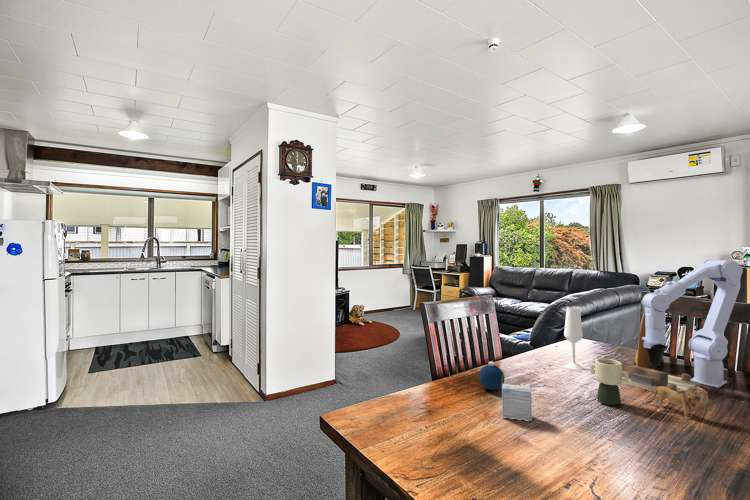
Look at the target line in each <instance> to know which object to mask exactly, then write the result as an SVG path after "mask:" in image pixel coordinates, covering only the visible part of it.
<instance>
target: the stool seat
mask: <svg viewBox="0 0 750 500" xmlns="http://www.w3.org/2000/svg"><path fill="white" fill-rule="evenodd" d="M628 364H631V365H636V362H635V361H632V360H630V361H628ZM691 376H692V375H690V374H688V373H681V377H679V376H675V375H670V374H668V384H667V386H665V387H667V388H669V389H671V390H673V391H676V392H681V391H682V390H688V389H692V388H695V387H699V388H700V383H699V382H696V381H692V380H691V379H692V377H691ZM622 378H624V379H625V376H622ZM621 384H625V385H628V386H632V387H636V388H640V389H643V390H647V391H651V392H654V393H655V390H656V389H657V388H658V387H660V386H659V385H656V384H653V378H652V377H648V376H644V375H640V374H636V373H632V374H631V378H629V377H628V382H623V381H622V382H621ZM657 394H658V392H657Z"/></svg>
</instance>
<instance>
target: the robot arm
mask: <svg viewBox="0 0 750 500" xmlns="http://www.w3.org/2000/svg"><path fill="white" fill-rule="evenodd" d="M743 272H744V269H743V268H742V267H741V265H740V264H739V262H737V261H736V260H732V259H729V260H728V259H727V260H725V259H711V258H710V259H708V258H707V259H705V260H704V261H703V262H699V263H698V265H697V267H695V268H694V269H693V270H691V271H690V272H689V273H687V274H686V275H684V276H683V277H681V279H679V280H678V281H675V280H672V281H666V282H665V284H664V285H662V286H661V287H659V288H658V289H655V290H653V291H654V292H653V293H652V292H651V293H650V292H649V293H646V294H645V295H644V296H643V297H642V299H641V301H640V303H641V305H642V306H643V308H644V311H645V326H646V337H642V340H645V342H644V348H645V349H646V350H647V352H648V354H649V357H650V361H651V364H652V365H655V366H656V367H659V366H660V365H661V363H662V359H663V356H664V353H665V351H666V350H667V349H668V346H667V345H666V344H667V342H668V339H667V338H668V337H667V336H666V310H668V309H669V307H670V305H671V304H672V302H675V301H676V300H678V299H679V298H680V297H682V296H684V295H685V294H686V289H689V288H691V287H693V286H694V285H696V284H698V283H699V282H701V281H703V280H705V279H709V280H710V281H711V282H712V283H714V285H715V286H716V287H717V289H716V292H715V295H714V297H713V300H712V303H711V304H710V308H709V311H708V313H707V316H706V319H705V321H704V324H703V326H702V327H703V328H700V329H699V330H696V331H695V333H694V335H693V336H692V337H691V338H690V339H689V340H688V348H689V350H690V351H691V352H692V355H693V375H694V376H693V377H691V380H692V381H696V382H699V385H700V384H701V385H705V386H708V387H713V388H717V389H719V388H721V387H722V386H723V385H725V384H727V383H728V381H727V380H724V363H723V360H724V359H725V357H726V356H727V355H728V344H729V341H728V339H727V338H726V336H725V335H724V334H725V330H726V327H727V325H728V322H729V320H730V317H731V314H732V311H733V308H734V306H735V303H736V301H737V298H738V295H739V292H740V289H741V277H742V274H743Z"/></svg>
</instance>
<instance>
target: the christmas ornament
mask: <svg viewBox="0 0 750 500" xmlns="http://www.w3.org/2000/svg"><path fill="white" fill-rule="evenodd" d="M478 379H479V382H480V384H481V385H482V387H484V388H485V389H486V390H489V389H490V390H489V391H497V390H499V389H502V384H505V374H504V371H503V370H502V369H501V368H500V367H499V366H498V365H495V362H494V361H493V360H492V359H491V361H488V364H486V365H484V366H483V367H482V368H481V369H480V370H479V373H478Z"/></svg>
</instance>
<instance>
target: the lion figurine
mask: <svg viewBox="0 0 750 500" xmlns="http://www.w3.org/2000/svg"><path fill="white" fill-rule="evenodd" d="M657 392H658V393H657ZM665 399H667V400H669V401H670V402H671V403H673V404H674V405H677V406H682V408H683V414H684V418H685V420H692V417H693V414H692V413H690V412H691V410H698V409H699V408H701V407H704V406H705V407H706V405H707V404H708V403H709V401H710V400H709V395H708V391H706V390H705V389H704V388H702V387H700V386H699V387H695V388H692V389H688V390H682V391H681V392H676V391H673V390H671V389H669V388H667V387H664V386H660V387H658V388H657V389H656V390H655V392H654V394H653V395H652V397H651V399H649V400H648V401H646V403H647V404H651V403H653V402H654V400H655V402H654V403H655V405H656V406H658V407H659V410H660V411H661V412H666V410H667V409H666V408H664V407H663V403H664V401H665Z"/></svg>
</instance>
